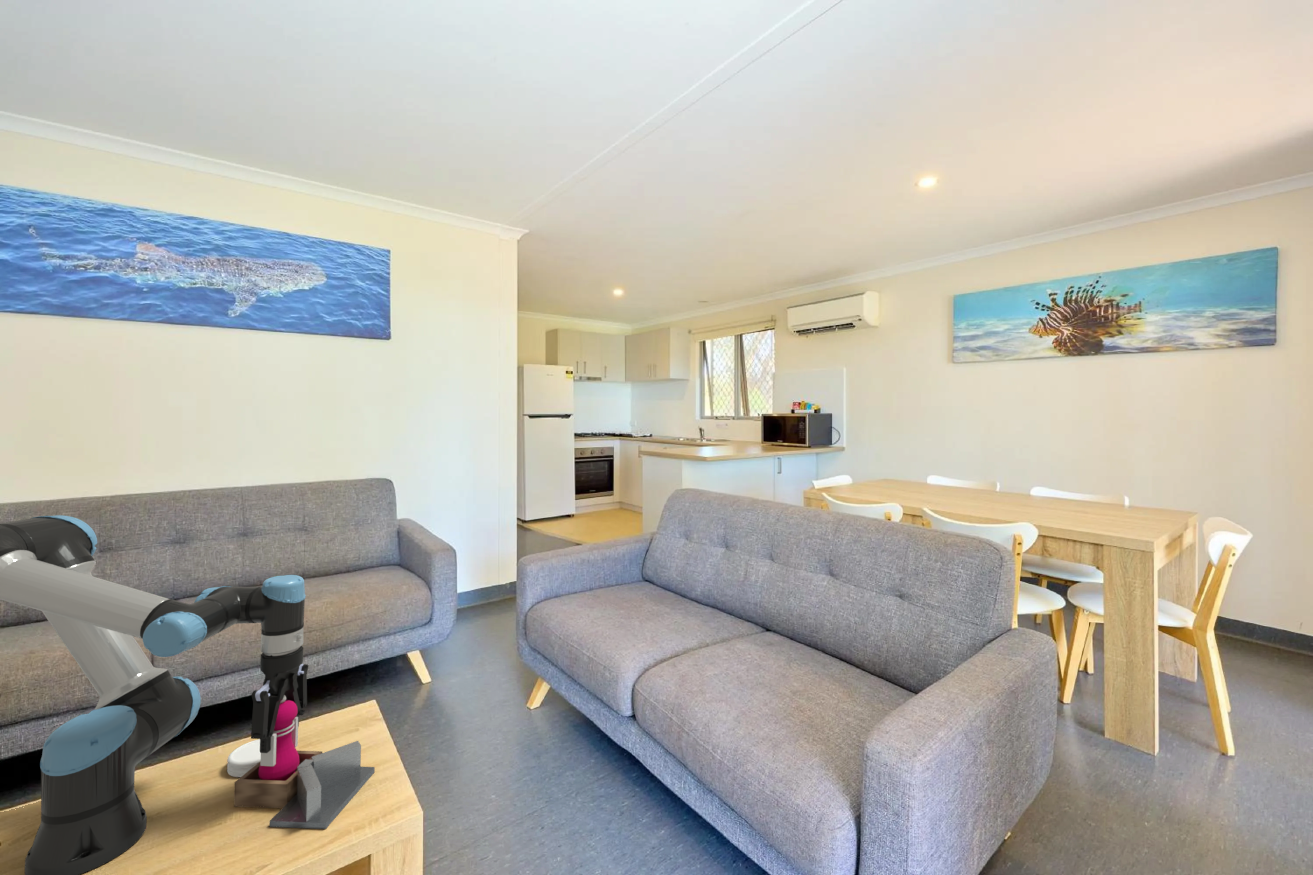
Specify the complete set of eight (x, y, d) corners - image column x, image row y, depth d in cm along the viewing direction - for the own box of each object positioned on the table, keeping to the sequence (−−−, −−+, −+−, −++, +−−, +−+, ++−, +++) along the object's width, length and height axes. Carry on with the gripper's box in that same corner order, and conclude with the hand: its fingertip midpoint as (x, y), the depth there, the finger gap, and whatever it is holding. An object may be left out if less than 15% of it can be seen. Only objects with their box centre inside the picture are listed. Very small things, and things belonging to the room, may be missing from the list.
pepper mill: (277, 800, 108) (279, 705, 108) (248, 795, 109) (251, 701, 109) (307, 778, 115) (309, 689, 115) (280, 773, 117) (282, 684, 116)
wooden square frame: (234, 806, 107) (234, 782, 107) (274, 771, 118) (274, 749, 118) (286, 808, 107) (287, 784, 107) (322, 773, 118) (322, 751, 118)
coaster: (292, 753, 125) (292, 739, 125) (254, 781, 115) (254, 765, 115) (255, 749, 126) (255, 734, 126) (215, 775, 116) (215, 760, 116)
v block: (325, 828, 101) (326, 792, 101) (269, 826, 102) (270, 790, 102) (374, 772, 118) (375, 740, 118) (326, 770, 119) (326, 739, 119)
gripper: (266, 669, 103) (262, 785, 103) (328, 632, 121) (325, 731, 122) (228, 667, 103) (225, 783, 103) (296, 631, 121) (293, 729, 122)
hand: (279, 754), depth 112 cm, fingers closed on pepper mill, 6 cm apart
